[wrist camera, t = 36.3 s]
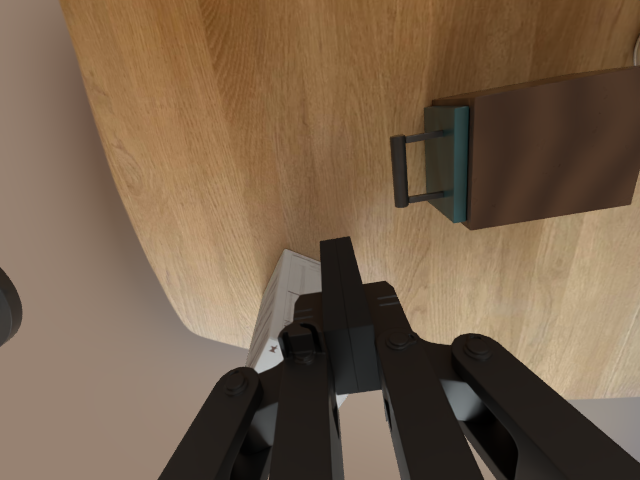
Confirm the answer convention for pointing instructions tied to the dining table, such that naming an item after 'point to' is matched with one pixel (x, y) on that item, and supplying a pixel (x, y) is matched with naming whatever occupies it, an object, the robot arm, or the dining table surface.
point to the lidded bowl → (637, 53)
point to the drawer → (437, 161)
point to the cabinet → (552, 146)
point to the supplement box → (282, 308)
